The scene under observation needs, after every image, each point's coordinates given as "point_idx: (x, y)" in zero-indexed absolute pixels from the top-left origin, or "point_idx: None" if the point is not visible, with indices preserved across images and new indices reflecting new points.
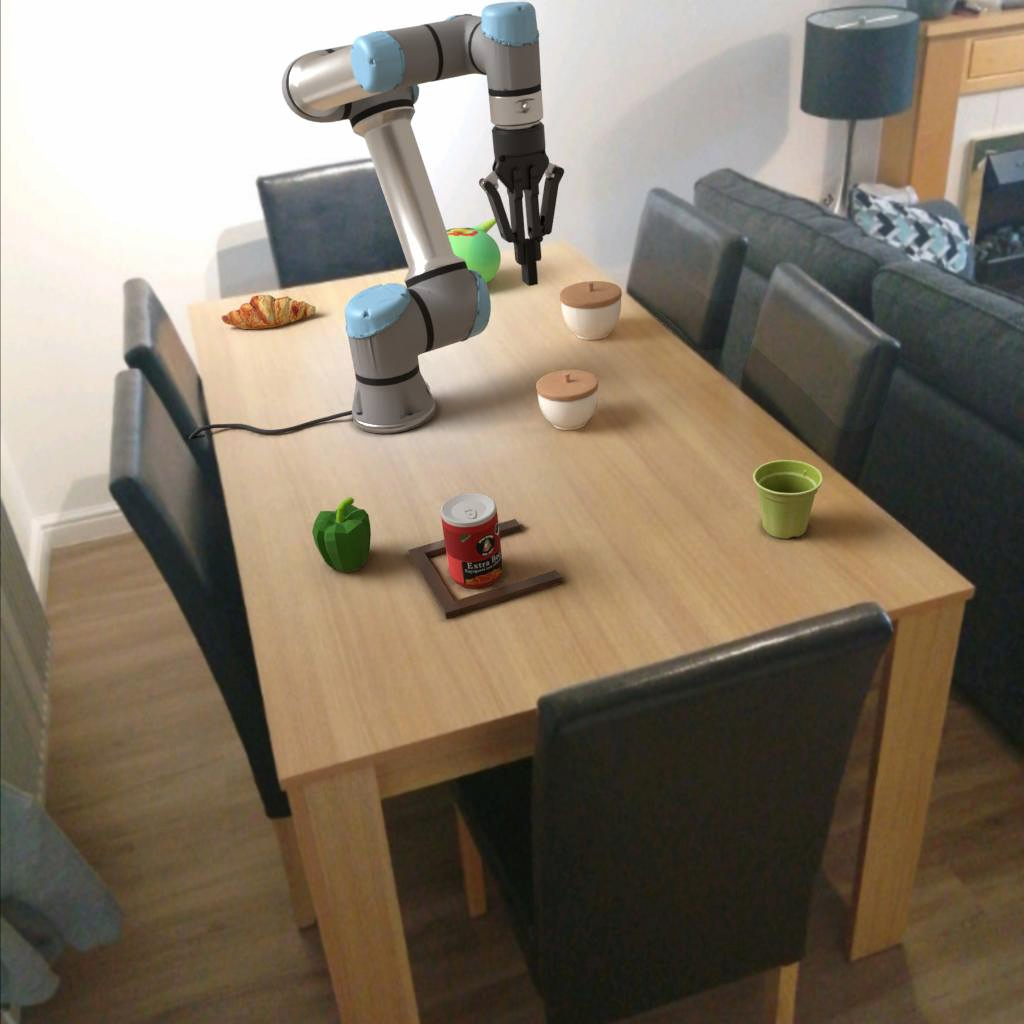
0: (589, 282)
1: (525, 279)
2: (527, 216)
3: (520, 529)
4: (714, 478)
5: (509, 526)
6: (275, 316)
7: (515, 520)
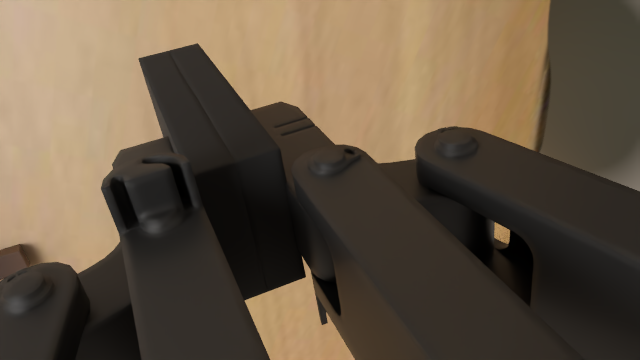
0: None
1: (158, 119)
2: (381, 318)
3: (29, 264)
4: (388, 156)
5: (6, 273)
6: None
7: (19, 257)
